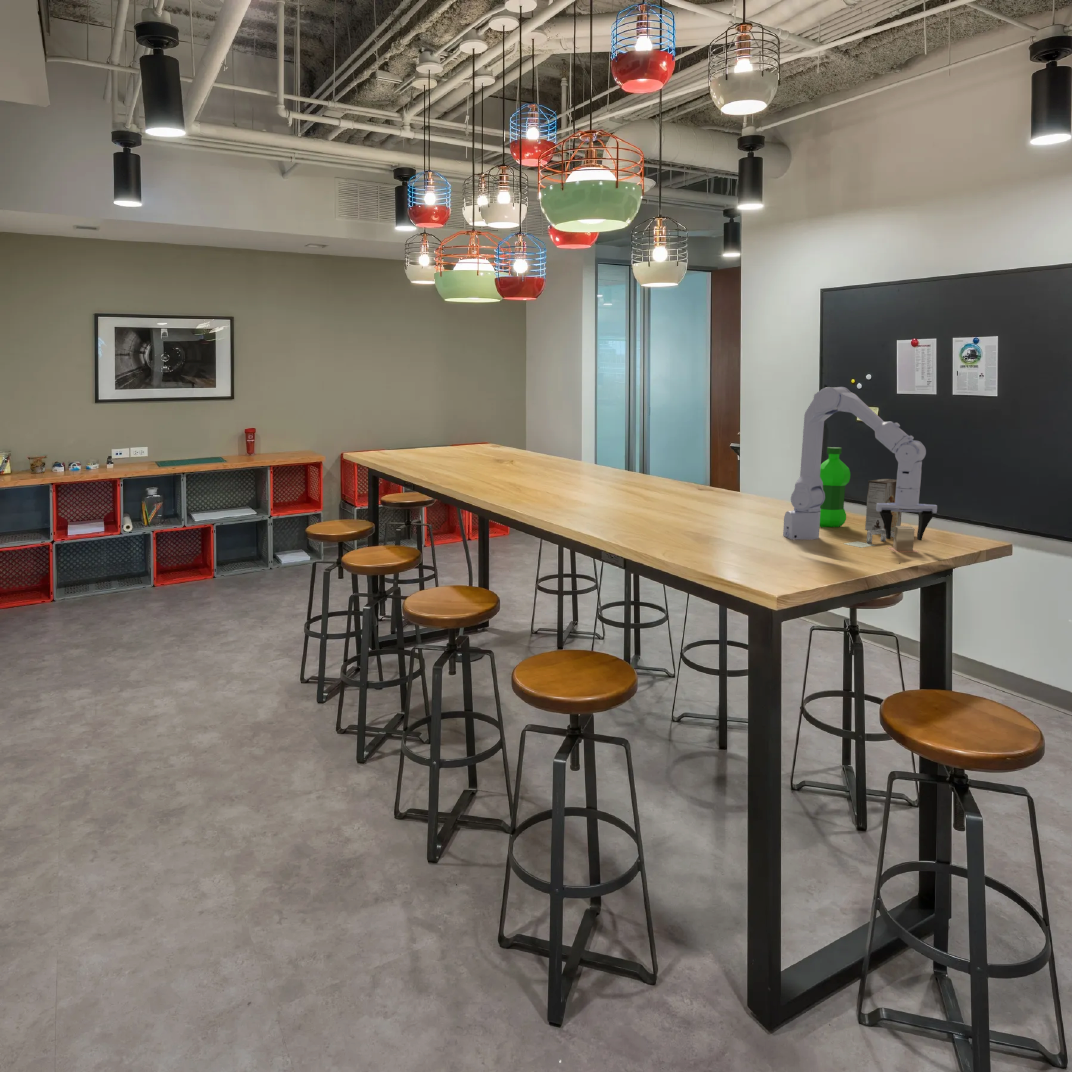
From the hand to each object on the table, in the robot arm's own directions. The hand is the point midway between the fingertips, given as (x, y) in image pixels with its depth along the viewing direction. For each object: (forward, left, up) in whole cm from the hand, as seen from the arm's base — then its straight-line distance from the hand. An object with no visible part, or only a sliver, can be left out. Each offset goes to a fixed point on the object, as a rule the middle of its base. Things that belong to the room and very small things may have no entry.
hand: (903, 538), depth 215 cm
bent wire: (-2, +8, -3) cm, 9 cm away
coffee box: (+10, +29, -4) cm, 31 cm away
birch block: (0, 0, -3) cm, 3 cm away
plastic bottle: (-2, +39, -4) cm, 39 cm away
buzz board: (-4, +6, -4) cm, 8 cm away
